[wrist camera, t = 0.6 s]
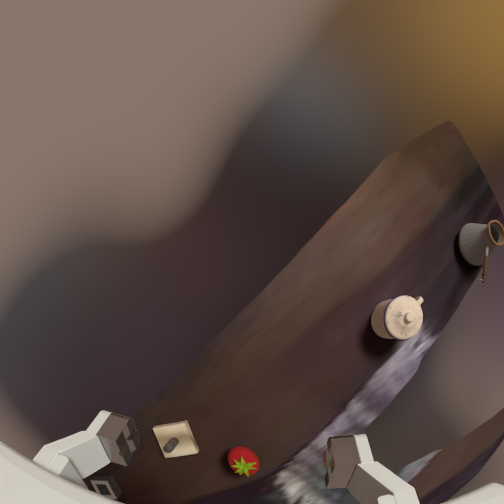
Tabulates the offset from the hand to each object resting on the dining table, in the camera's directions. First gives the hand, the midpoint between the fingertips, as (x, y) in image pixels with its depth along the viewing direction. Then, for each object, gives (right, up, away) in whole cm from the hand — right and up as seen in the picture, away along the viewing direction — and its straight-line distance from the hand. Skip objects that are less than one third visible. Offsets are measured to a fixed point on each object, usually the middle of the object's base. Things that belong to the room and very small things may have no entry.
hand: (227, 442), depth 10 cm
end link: (-37, -54, +41) cm, 77 cm away
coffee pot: (+56, +5, +52) cm, 77 cm away
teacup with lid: (+33, -7, +50) cm, 60 cm away
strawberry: (0, -36, +44) cm, 57 cm away
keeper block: (-16, -34, +45) cm, 59 cm away
